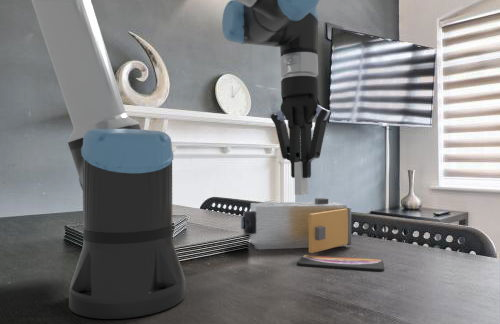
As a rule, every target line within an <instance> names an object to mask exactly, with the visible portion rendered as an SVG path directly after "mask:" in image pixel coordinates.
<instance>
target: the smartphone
mask: <svg viewBox="0 0 500 324" xmlns="http://www.w3.org/2000/svg"><path fill="white" fill-rule="evenodd" d="M384 264H385V263H384V261H383V260H382V259H378V258H364V257H359V258H358V257H345V256H343V257H342V256H331V255H330V256H329V255H328V256H327V255H326V256H325V255H313V254H311V255H310V254H304V255H302V256H301V257H300V259H299V260H298V261H297V263H296V265H297V266H300V267H308V268H309V267H310V268H321V269H322V268H323V269H333V270H334V269H336V270H349V271H362V272H363V271H364V272H365V271H367V272H384V271H385V265H384Z"/></svg>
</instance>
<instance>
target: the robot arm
mask: <svg viewBox="0 0 500 324" xmlns="http://www.w3.org/2000/svg"><path fill="white" fill-rule="evenodd" d="M319 2H320V0H229V1H228V2H227V3H226V5H225V7H224V10H223V12H222V21H221V23H222V25H221V26H222V27H221V28H222V33H223V36H224V38H225V39H226V40H227V41H229V42H231V43H232V42H233V43H238V44H241V45H254V46H264V47H266V46H267V47H274V48H275V47H277V48H279V50H280V77H282V79H281V81H280V95H281V100H282V101H281V102H282V103H281V105H280V110H278V111H277V112H276V113H272V114H271V115H270V119H271V120H272V122H273V124H274V127H275V131H276V135H277V140H278V143H279V149H280V154H281V157H282V159H284V160H287V161H289V162H290V175H291V178H293V179H294V195H296V196H302V195H307V194H309V189H308V186H309V185H308V183H309V182H308V179H309V178H311V177H312V162H313V161H314V160H316V159H319V158H320V156H321V153H322V147H323V142H324V137H325V132H326V127H327V122H328V121H329V119H330V117H331V115H332V111H331V110H328V109H326V108H324V107H322V106H321V102H320V100H319V79H318V78H317V76H319V56H318V52H319V51H318V50H319V48H318V47H319V46H318V45H319V43H318V42H319V41H318V39H319V37H318V29H319V28H318V27H319V20H318V9H317V5H319ZM31 3H32V6H33V10H34V12H35V15H36V18H37V22H38V24H39V27H40V31H41V33H42V37H43V40H44V42H45V46H46V49H47V52H48V54H49V58H50V60H51V63H52V67H53V70H54V73H55V76H56V79H57V83H58V84H59V87H60V88H59V89H60V91H61V94H62V96H63V100H64V104H65V107H66V109H67V113H68V115H69V118H70V121H71V124H72V127H73V129H72V132H71V134H70V136H69V138H68V139H67V144H68V147H69V151H70V153H71V156H72V160H73V164H74V165H75V168H76V171H77V175H78V180H79V186H80V188H81V191H82V214H83V215H82V229H83V230H82V231H83V232H82V233H83V234H82V236H83V237H82V238H83V239H82V241H83V242H82V243H83V244H82V248H81V252H80V254H79V257H78V261H77V264H76V265H75V266H76V267H75V269H74V273H73V276H72V279H71V282H70V285H69V288H68V308H69V309H70V311H71V312H73V313H74V314H76V315H79V316H81V317H86V318H90V319H102V320H112V319H114V320H118V319H119V320H120V319H130V318H132V319H133V318H137V317H143V316H149V315H152V314H157V313H160V312H162V311H166V310H168V309H172V308H173V307H175V306H176V305H178V304H179V303H181V302H182V301H183V300H184V298H185V297H186V278H185V274H184V271H183V268H182V265H181V262H180V259H179V256H178V253H177V250H176V248H175V244H174V239H173V160H174V151H173V146H172V140H171V139H172V138H171V136H170V135H169V134H167V133H166V132H165V131H160V130H151V129H150V130H149V129H148V130H147V129H142V128H141V125H140V123H139V121H137V120H135V118H132V117H130V116H129V115H128V114H127V111H126V108H125V106H124V102H123V99H122V96H121V92H120V89H119V87H118V83H117V80H116V77H115V73H114V70H113V66H112V64H111V60H110V56H109V55H108V51H107V48H106V44H105V42H104V38H103V34H102V32H101V27H100V25H99V22H98V19H97V15H96V11H95V10H94V6H93V2H92V0H31ZM315 116H316V118H315ZM314 118H315V123H314V128H313V119H314ZM285 120H287V123H286V121H285ZM312 128H313V132H312Z"/></svg>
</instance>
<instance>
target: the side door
mask: <svg viewBox="0 0 500 324" xmlns="http://www.w3.org/2000/svg"><path fill="white" fill-rule="evenodd" d="M345 244H347V246H352V207H347V208H346V209H340V210H333V211H326V212H320V213H313V214H309V248H308V253H310V254H314V253H318V252H322V251H325V250H329V249H333V248H338V246H341V245H345ZM341 247H342V246H341Z"/></svg>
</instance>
